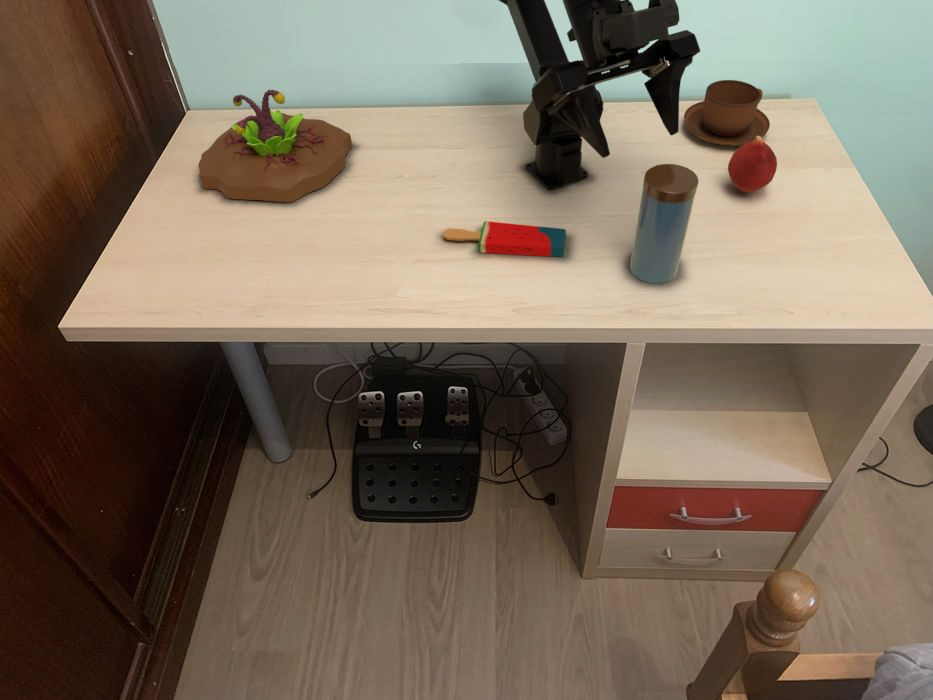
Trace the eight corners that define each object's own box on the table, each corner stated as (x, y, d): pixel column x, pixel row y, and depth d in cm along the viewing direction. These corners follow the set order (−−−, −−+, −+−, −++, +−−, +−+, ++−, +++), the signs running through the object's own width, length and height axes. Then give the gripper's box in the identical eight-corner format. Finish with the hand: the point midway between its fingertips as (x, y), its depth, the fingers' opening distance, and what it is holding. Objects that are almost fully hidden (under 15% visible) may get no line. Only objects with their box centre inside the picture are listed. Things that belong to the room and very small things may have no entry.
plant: (305, 215, 96) (287, 138, 88) (180, 189, 101) (153, 114, 93) (370, 139, 109) (360, 66, 101) (256, 119, 114) (238, 48, 106)
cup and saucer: (706, 103, 114) (714, 64, 109) (780, 127, 108) (792, 88, 103) (666, 135, 107) (673, 95, 103) (742, 162, 102) (754, 122, 97)
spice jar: (619, 263, 88) (633, 172, 79) (657, 248, 89) (675, 158, 80) (648, 290, 84) (666, 198, 75) (687, 274, 86) (709, 183, 77)
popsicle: (447, 217, 93) (566, 226, 91) (447, 227, 94) (565, 236, 92) (440, 240, 89) (563, 249, 87) (441, 249, 91) (562, 259, 88)
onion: (771, 184, 98) (788, 130, 92) (764, 208, 94) (781, 153, 89) (727, 175, 100) (741, 121, 94) (718, 198, 96) (732, 143, 90)
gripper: (551, -13, 69) (606, 145, 70) (707, -51, 75) (756, 97, 76) (508, 39, 80) (557, 176, 81) (648, 3, 85) (691, 131, 86)
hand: (641, 145), depth 81 cm, fingers open, 9 cm apart
